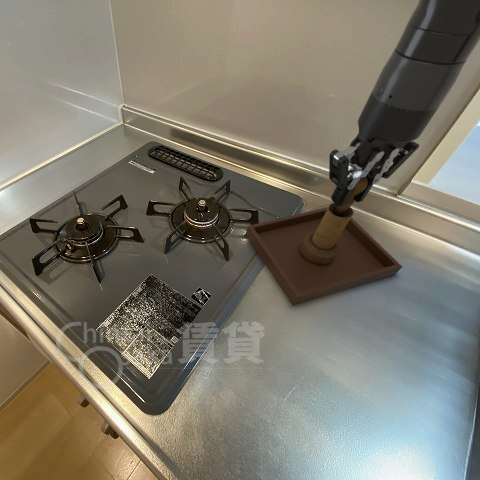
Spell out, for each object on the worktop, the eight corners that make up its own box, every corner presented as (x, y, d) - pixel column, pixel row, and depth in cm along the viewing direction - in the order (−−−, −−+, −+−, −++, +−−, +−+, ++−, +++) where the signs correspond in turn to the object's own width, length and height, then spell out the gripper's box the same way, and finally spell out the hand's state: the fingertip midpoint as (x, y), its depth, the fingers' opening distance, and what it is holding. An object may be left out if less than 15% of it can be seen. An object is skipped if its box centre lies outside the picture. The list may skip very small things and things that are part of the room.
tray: (332, 214, 69) (338, 204, 67) (393, 276, 58) (402, 266, 56) (245, 235, 65) (247, 225, 63) (292, 306, 54) (297, 297, 52)
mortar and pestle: (296, 257, 60) (335, 182, 47) (302, 235, 64) (338, 160, 50) (333, 269, 58) (384, 194, 45) (336, 245, 62) (384, 170, 48)
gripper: (382, 116, 35) (323, 225, 47) (479, 99, 37) (398, 207, 50) (338, 89, 40) (295, 195, 52) (426, 76, 42) (365, 179, 55)
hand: (346, 200), depth 51 cm, fingers closed on mortar and pestle, 3 cm apart
